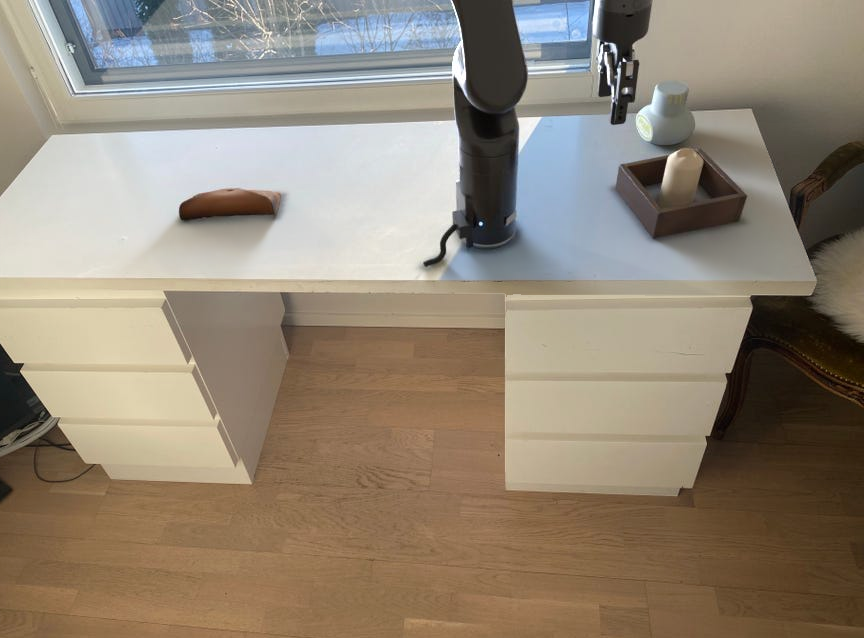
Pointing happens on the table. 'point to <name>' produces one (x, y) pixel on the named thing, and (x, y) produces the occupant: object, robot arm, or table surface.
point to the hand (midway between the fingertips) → (610, 109)
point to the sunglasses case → (230, 204)
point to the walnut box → (687, 216)
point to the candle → (680, 178)
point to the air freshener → (666, 115)
